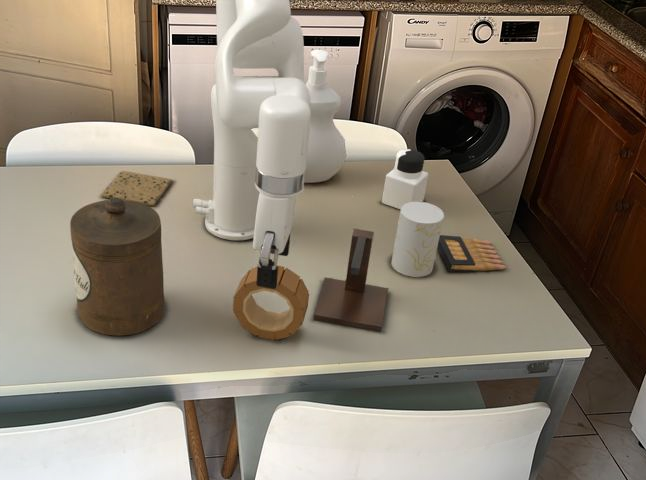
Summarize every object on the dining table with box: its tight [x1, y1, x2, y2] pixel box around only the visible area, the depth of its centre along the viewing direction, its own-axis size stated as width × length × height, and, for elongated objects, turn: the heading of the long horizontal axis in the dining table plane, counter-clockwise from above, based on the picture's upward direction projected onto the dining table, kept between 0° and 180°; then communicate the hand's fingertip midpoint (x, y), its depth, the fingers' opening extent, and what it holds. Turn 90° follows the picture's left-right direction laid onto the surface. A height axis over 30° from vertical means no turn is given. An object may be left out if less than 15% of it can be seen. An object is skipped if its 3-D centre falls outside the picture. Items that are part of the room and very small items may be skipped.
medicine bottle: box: [381, 148, 429, 211], centre depth 177 cm, size 7×7×12 cm
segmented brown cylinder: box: [232, 264, 310, 341], centre depth 137 cm, size 12×5×12 cm, turn 78°
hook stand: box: [313, 228, 389, 333], centre depth 144 cm, size 12×13×13 cm
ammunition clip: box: [437, 234, 508, 273], centre depth 163 cm, size 11×2×12 cm
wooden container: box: [69, 197, 165, 337], centre depth 136 cm, size 15×15×22 cm
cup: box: [390, 201, 445, 278], centre depth 157 cm, size 8×8×12 cm
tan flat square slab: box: [101, 170, 173, 207], centre depth 178 cm, size 12×12×1 cm
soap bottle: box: [304, 49, 347, 184], centre depth 180 cm, size 17×12×29 cm
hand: (272, 269), depth 134 cm, fingers open, 9 cm apart
